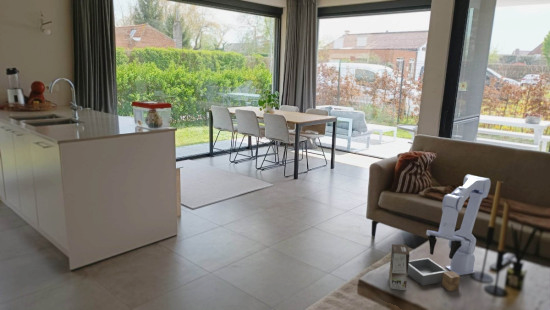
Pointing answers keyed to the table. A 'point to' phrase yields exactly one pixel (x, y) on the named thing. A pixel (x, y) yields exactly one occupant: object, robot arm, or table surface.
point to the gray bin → (425, 271)
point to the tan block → (450, 281)
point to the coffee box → (399, 267)
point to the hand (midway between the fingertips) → (440, 256)
